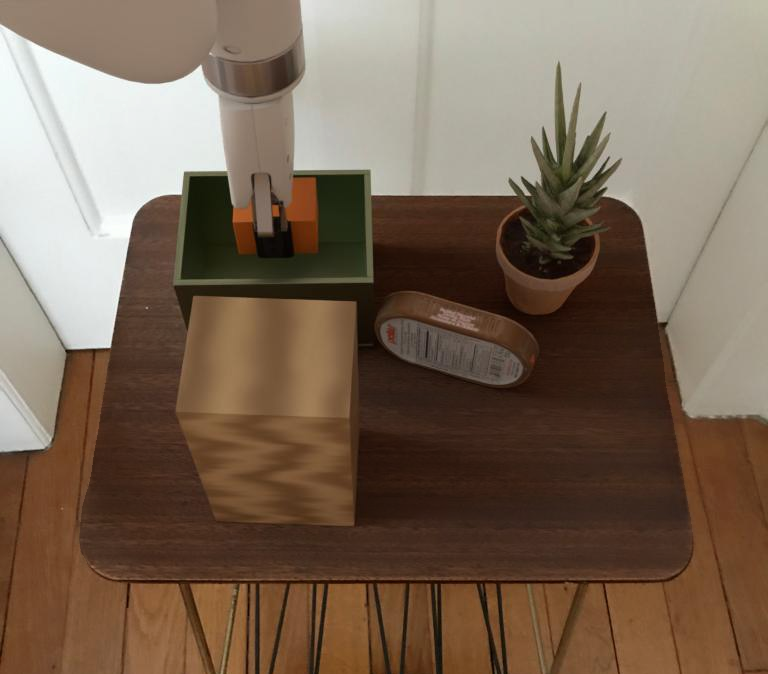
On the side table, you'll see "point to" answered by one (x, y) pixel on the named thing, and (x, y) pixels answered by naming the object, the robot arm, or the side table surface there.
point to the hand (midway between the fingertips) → (276, 229)
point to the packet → (298, 213)
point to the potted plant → (555, 218)
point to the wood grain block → (273, 408)
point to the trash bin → (279, 275)
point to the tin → (456, 339)
